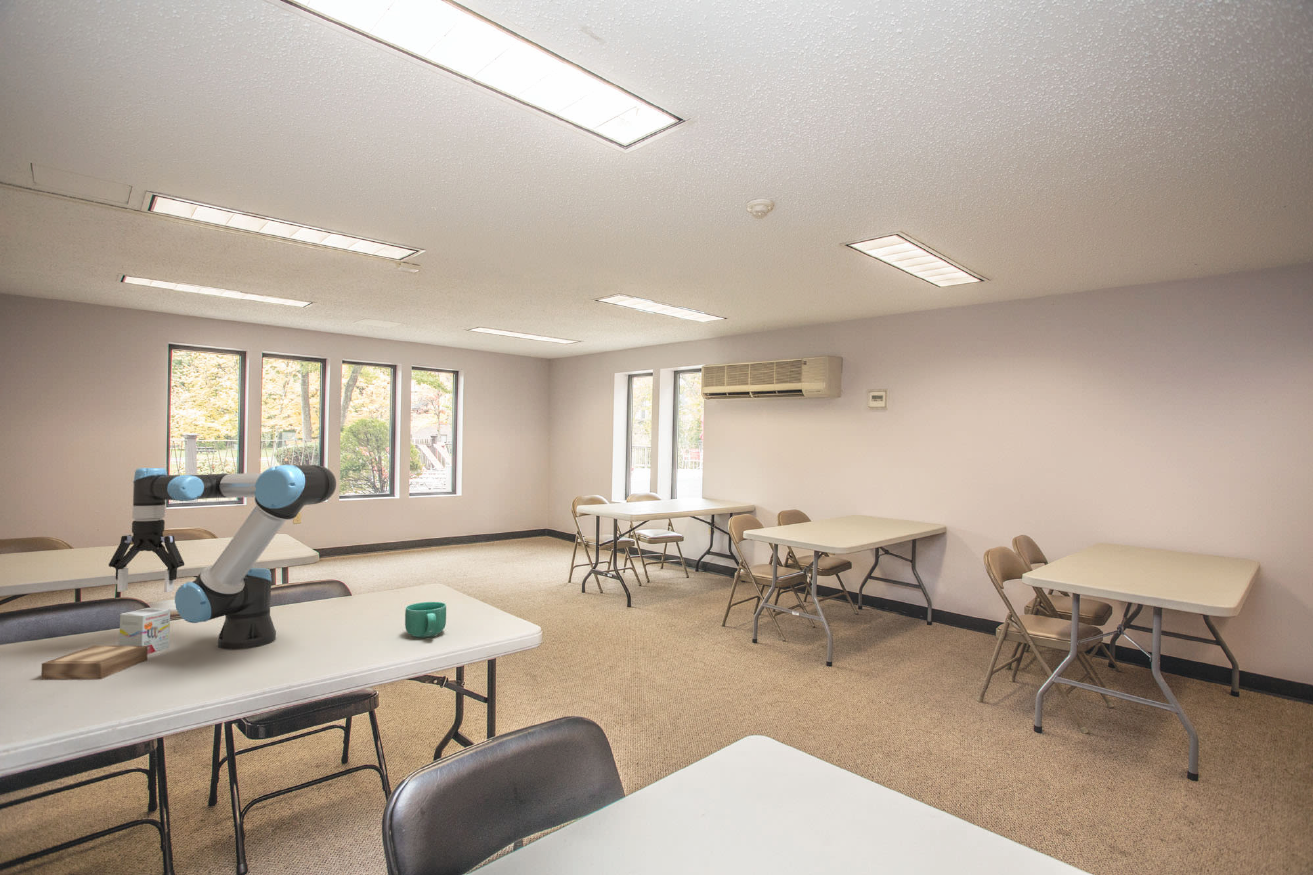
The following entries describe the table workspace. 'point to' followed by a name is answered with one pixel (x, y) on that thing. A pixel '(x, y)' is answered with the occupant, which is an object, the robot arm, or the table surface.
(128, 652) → the riser
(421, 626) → the mug
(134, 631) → the ink box
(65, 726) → the table surface
